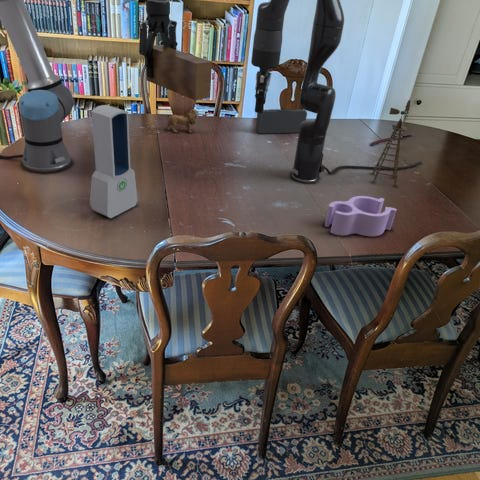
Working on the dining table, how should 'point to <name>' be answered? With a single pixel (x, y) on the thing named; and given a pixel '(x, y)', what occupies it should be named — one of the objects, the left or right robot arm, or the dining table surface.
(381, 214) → the clip
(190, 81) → the box
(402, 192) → the dining table surface
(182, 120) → the lion figurine
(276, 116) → the handheld gaming console
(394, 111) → the miniature windmill
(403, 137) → the sword
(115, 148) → the electronic device
